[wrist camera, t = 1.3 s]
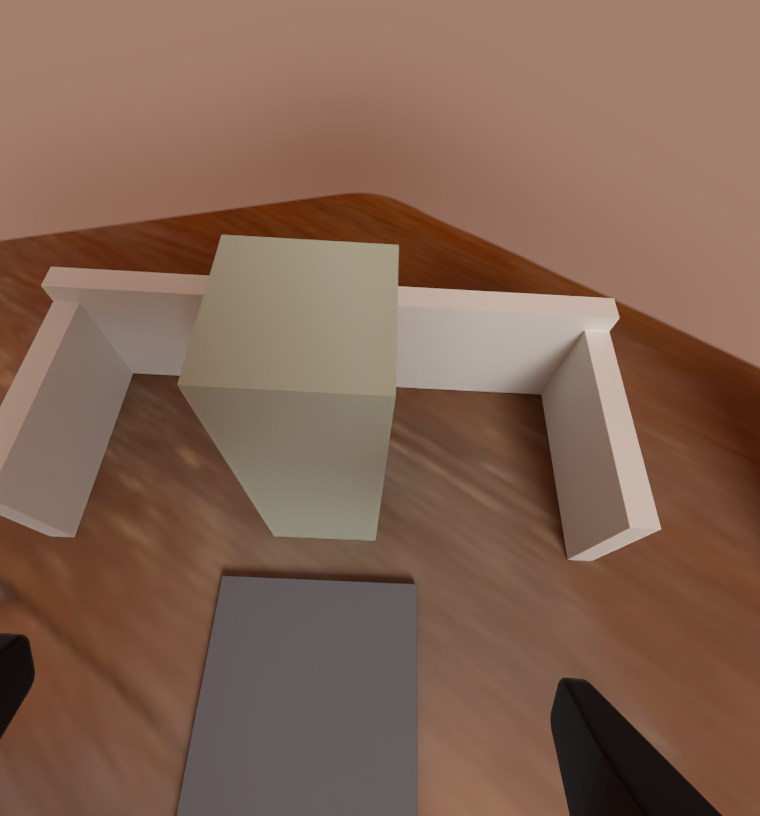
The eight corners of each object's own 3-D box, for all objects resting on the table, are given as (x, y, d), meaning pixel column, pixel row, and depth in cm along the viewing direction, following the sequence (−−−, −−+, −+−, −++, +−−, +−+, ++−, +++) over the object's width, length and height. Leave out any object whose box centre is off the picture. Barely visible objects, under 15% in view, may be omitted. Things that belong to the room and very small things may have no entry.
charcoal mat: (416, 838, 17) (417, 841, 17) (176, 829, 17) (172, 833, 17) (415, 585, 22) (416, 584, 22) (224, 577, 22) (222, 575, 21)
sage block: (375, 541, 23) (395, 396, 11) (273, 536, 23) (176, 385, 11) (379, 448, 25) (399, 245, 13) (287, 443, 25) (221, 234, 13)
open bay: (591, 560, 23) (677, 522, 17) (49, 536, 22) (-67, 487, 16) (558, 378, 28) (613, 298, 22) (118, 355, 28) (50, 266, 21)
